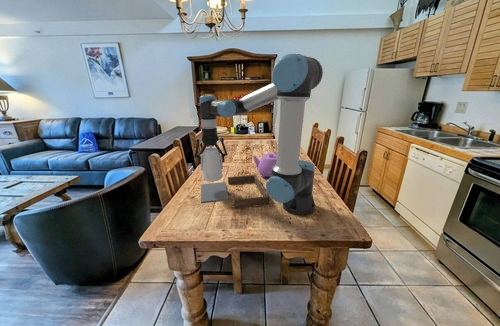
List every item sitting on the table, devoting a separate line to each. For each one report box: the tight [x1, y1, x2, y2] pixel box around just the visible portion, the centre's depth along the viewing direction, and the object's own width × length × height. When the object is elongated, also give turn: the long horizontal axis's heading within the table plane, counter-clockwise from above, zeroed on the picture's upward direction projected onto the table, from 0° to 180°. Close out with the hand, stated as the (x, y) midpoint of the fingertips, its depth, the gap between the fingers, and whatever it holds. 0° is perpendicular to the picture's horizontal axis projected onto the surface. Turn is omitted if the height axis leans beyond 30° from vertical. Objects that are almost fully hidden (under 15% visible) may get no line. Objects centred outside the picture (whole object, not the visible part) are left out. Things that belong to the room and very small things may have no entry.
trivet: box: [200, 181, 229, 204], centre depth 121 cm, size 22×14×1 cm, turn 12°
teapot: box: [252, 152, 277, 179], centre depth 143 cm, size 20×20×15 cm
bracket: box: [227, 174, 271, 209], centre depth 119 cm, size 30×17×4 cm, turn 12°
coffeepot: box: [200, 145, 223, 183], centre depth 116 cm, size 11×25×19 cm, turn 169°
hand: (212, 168), depth 117 cm, fingers closed on coffeepot, 10 cm apart
